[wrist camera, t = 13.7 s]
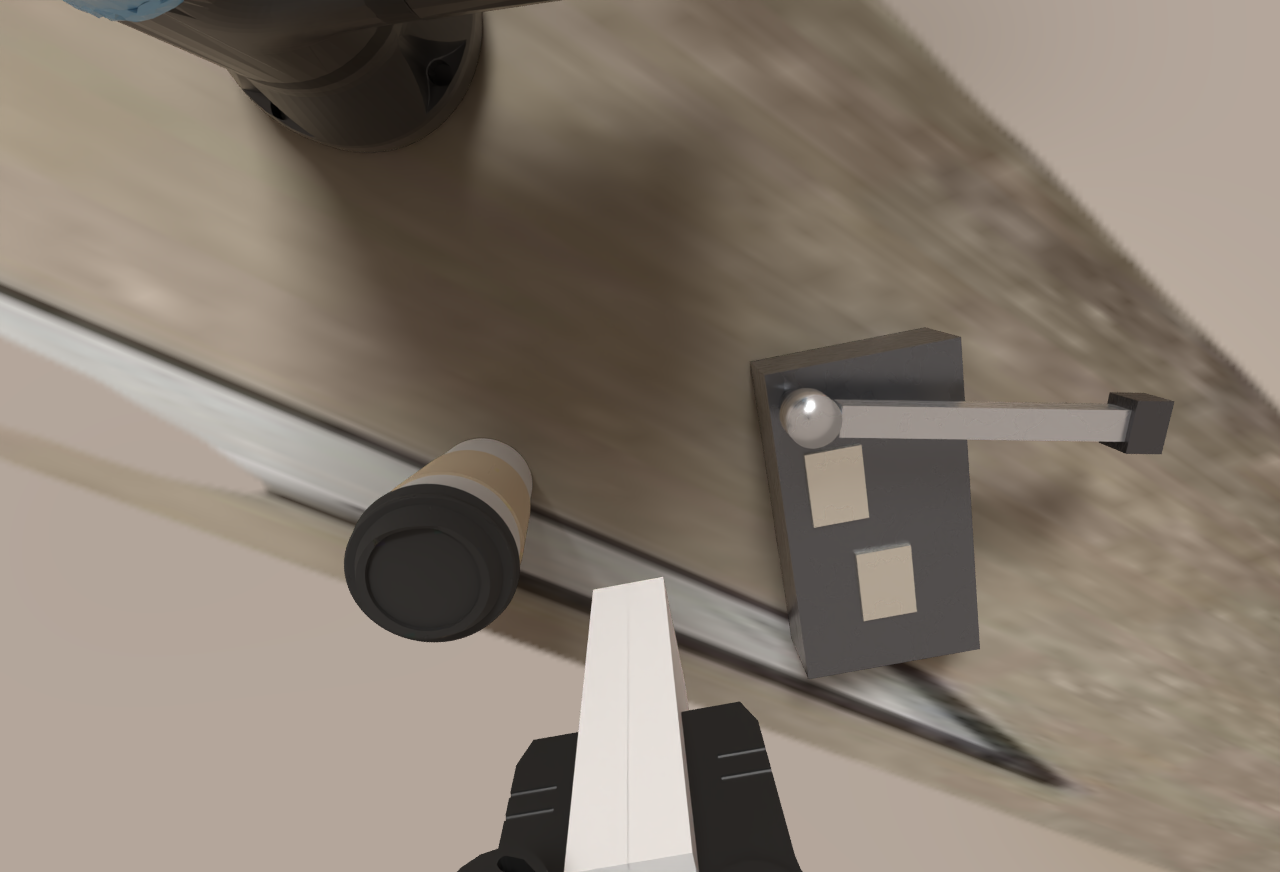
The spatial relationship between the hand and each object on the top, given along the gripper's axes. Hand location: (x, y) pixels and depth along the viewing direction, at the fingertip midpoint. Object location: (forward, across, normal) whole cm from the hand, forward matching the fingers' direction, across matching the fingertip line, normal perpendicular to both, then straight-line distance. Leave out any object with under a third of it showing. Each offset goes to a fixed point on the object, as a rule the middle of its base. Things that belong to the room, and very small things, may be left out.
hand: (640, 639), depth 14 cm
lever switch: (+32, +14, -12) cm, 37 cm away
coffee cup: (+33, -12, -6) cm, 35 cm away
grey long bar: (+25, +18, -5) cm, 31 cm away
